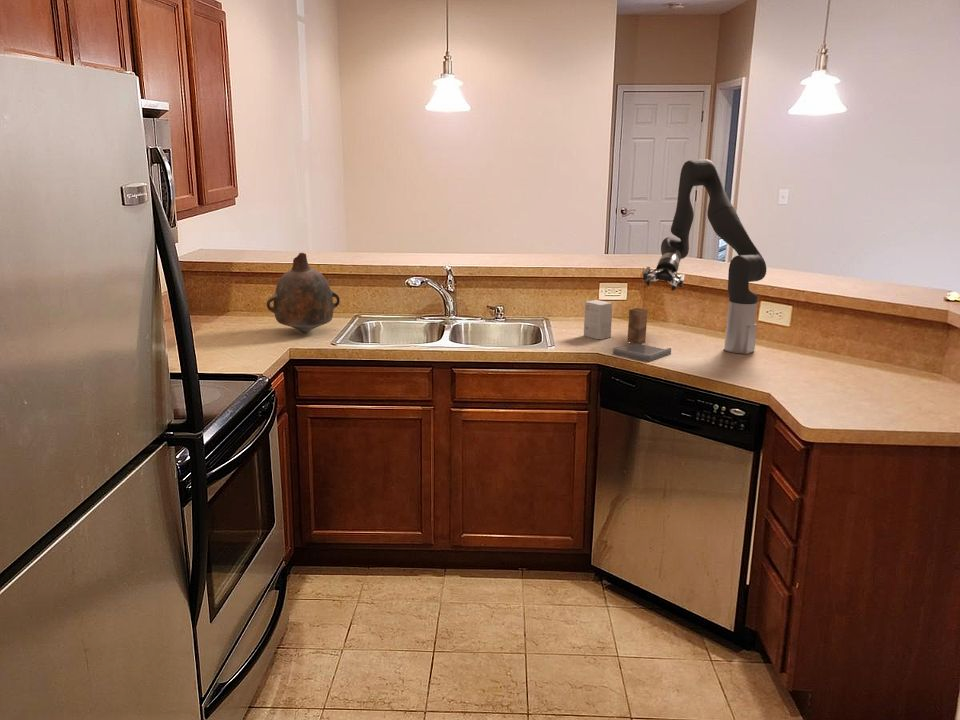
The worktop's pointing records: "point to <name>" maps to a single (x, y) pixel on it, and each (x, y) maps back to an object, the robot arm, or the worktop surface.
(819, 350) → the worktop surface
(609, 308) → the small box
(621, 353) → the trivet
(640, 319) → the walnut block
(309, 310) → the jug
